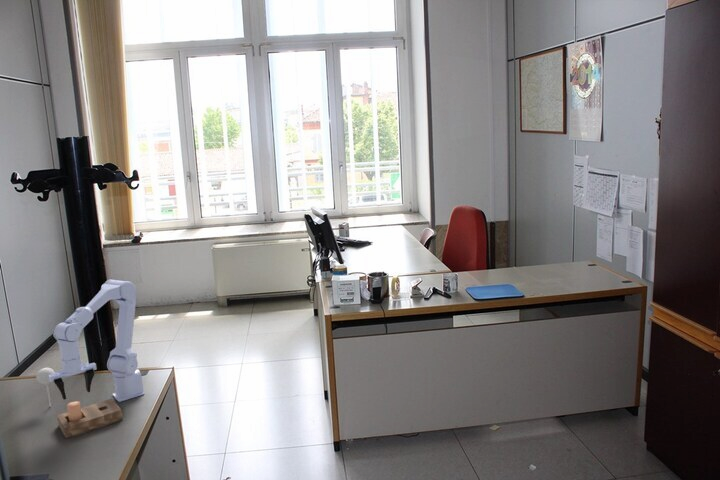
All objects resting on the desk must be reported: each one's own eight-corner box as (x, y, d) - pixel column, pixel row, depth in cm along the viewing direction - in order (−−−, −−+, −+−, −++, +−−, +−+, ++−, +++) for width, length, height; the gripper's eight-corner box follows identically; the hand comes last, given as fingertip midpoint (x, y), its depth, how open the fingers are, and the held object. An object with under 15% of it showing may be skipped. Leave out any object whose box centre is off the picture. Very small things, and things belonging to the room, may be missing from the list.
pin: (81, 421, 205) (78, 400, 203) (84, 426, 202) (81, 404, 200) (68, 425, 202) (65, 404, 201) (71, 430, 199) (68, 408, 198)
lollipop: (51, 411, 214) (45, 372, 211) (37, 410, 216) (31, 371, 212) (63, 403, 220) (57, 365, 217) (49, 402, 222) (43, 364, 218)
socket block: (113, 408, 215) (111, 398, 214) (122, 420, 206) (121, 409, 205) (58, 426, 204) (56, 415, 203) (66, 439, 195) (64, 427, 194)
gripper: (90, 348, 208) (95, 384, 211) (44, 360, 199) (50, 397, 202) (96, 354, 203) (101, 390, 206) (49, 366, 194) (55, 404, 197)
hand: (76, 394), depth 204 cm, fingers open, 7 cm apart
